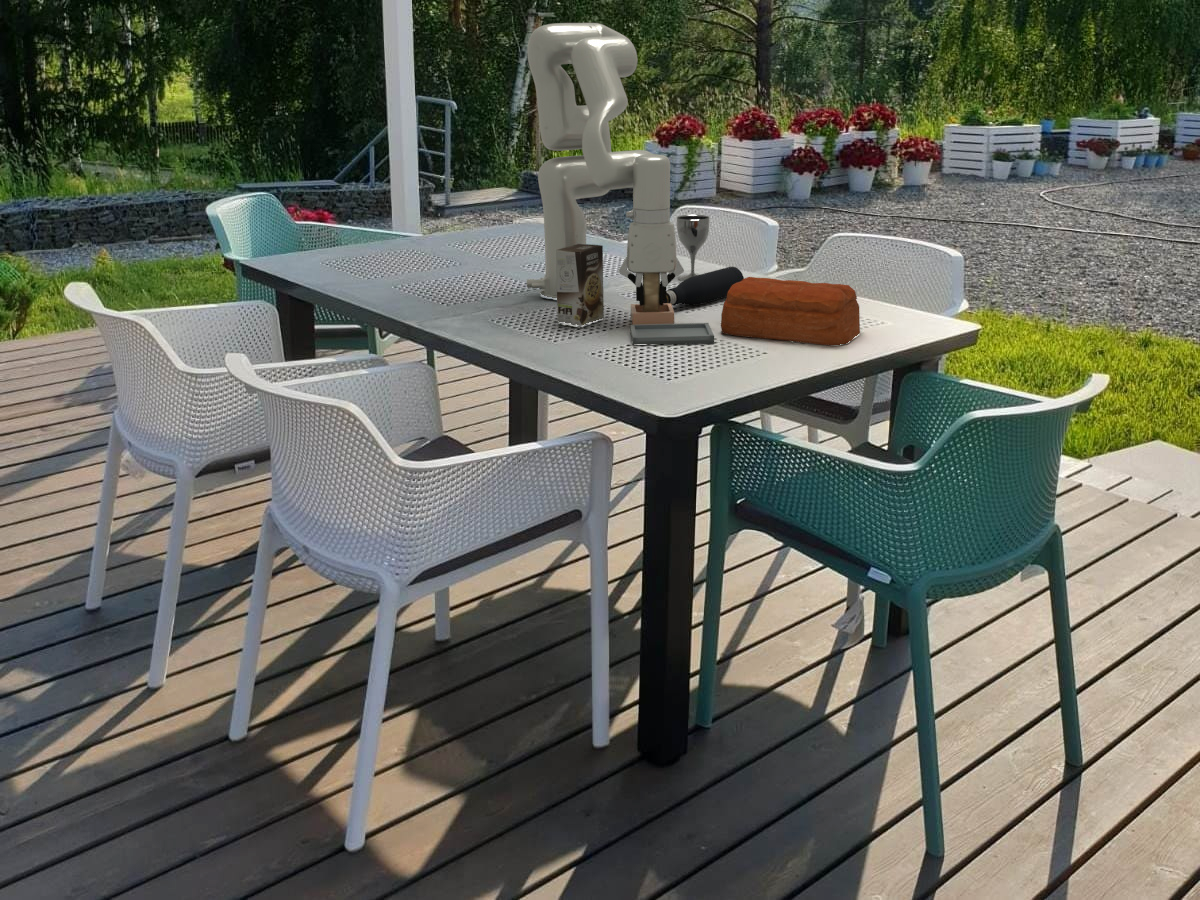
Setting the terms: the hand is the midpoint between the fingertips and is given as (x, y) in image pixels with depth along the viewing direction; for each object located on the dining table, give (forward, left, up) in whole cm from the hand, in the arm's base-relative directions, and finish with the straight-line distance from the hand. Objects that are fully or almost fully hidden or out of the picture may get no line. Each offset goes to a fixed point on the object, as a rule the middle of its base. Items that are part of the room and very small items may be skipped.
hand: (651, 303), depth 260 cm
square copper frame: (0, 0, -4) cm, 4 cm away
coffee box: (-15, +2, -4) cm, 16 cm away
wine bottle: (+21, +27, -1) cm, 34 cm away
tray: (+3, -13, -4) cm, 14 cm away
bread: (+27, -12, -5) cm, 30 cm away
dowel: (0, 0, -3) cm, 3 cm away
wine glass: (+13, +46, -4) cm, 48 cm away
